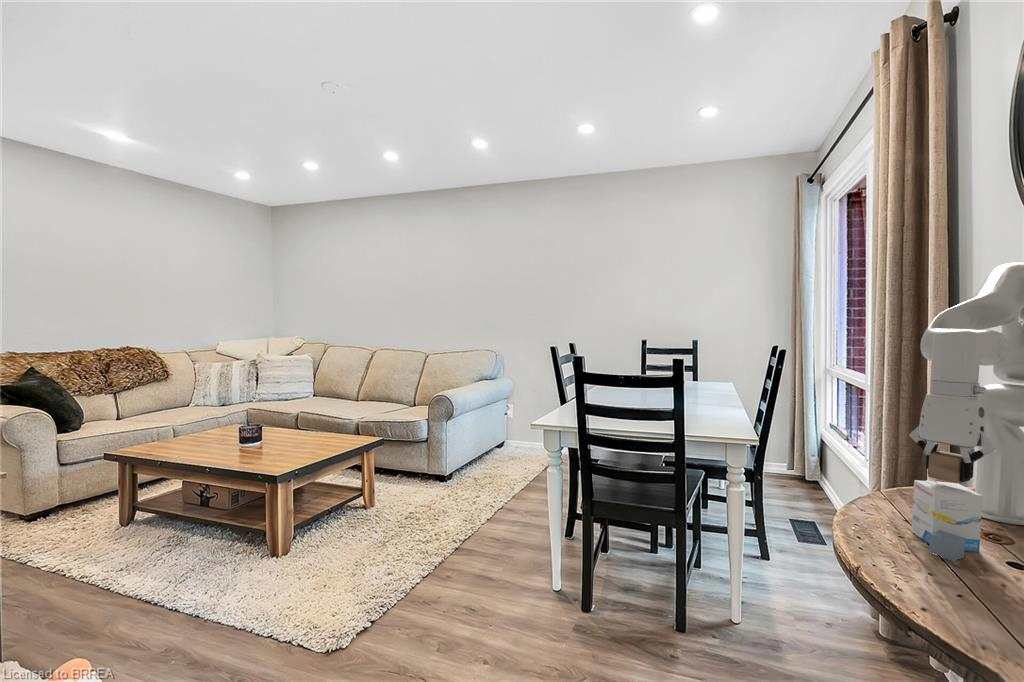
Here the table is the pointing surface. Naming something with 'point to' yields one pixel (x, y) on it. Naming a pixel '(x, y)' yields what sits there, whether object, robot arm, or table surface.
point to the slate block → (947, 545)
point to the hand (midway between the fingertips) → (948, 476)
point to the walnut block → (945, 466)
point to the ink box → (947, 511)
